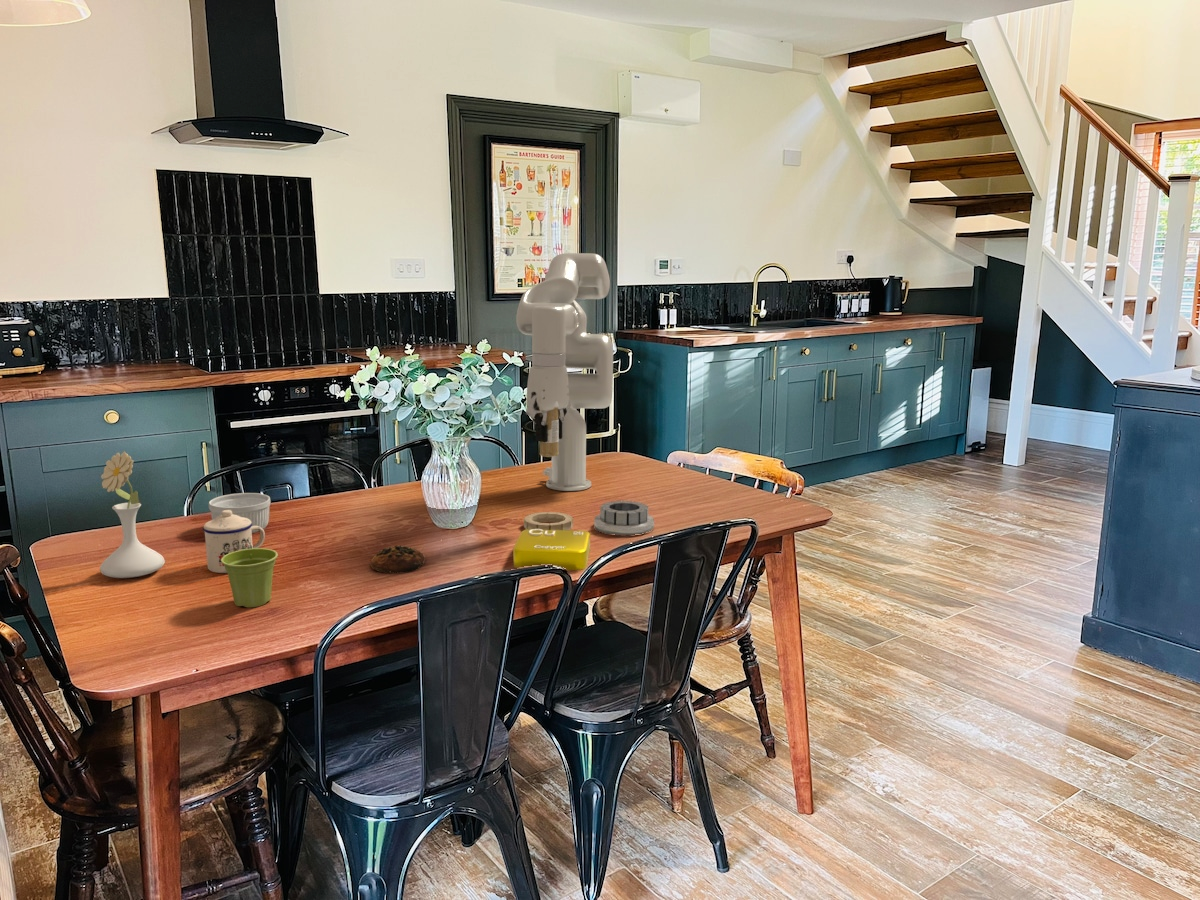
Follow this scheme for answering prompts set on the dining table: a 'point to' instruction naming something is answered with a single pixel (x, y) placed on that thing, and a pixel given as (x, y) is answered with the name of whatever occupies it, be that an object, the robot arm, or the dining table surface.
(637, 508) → the hub
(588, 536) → the element tile
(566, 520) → the beige flat ring
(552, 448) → the sprinkles bottle
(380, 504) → the dining table surface
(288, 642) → the dining table surface
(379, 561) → the bread roll
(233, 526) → the teacup with lid
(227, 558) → the plant pot
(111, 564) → the flower in vase
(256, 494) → the ramekin
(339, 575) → the dining table surface
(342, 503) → the dining table surface
